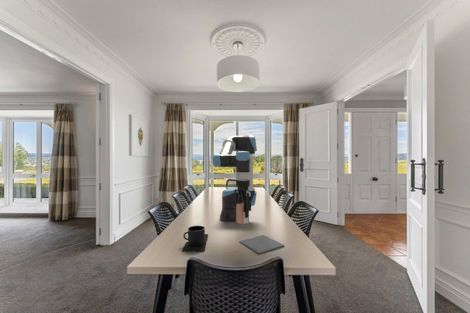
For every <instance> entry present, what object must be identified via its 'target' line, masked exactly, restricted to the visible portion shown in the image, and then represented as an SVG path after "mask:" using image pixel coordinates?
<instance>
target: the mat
mask: <svg viewBox="0 0 470 313" xmlns="http://www.w3.org/2000/svg"><path fill="white" fill-rule="evenodd" d="M239 243H240V244H242V246H244V247H246V248H247V249H250V250H251V251H252V252H255V254H258V255H261V254H264V253H265V254H266V253H267V252H271V251H274V250H277V249H282V248H284V247H285V244H283V243H281V242H279V241H277V240H276V239H274V238H270V237H268V236H266V235H264V234H261V235H258V236H253V237H250V238H245V239H242V240H239Z"/></svg>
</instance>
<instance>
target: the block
mask: <svg viewBox="0 0 470 313" xmlns="http://www.w3.org/2000/svg"><path fill="white" fill-rule="evenodd" d="M243 211H244V205H243V203H239V204H236V221H235V222H236V223H238V224H240V225H244V224H243ZM249 223H250V211H249V212H248V223H247V224H249Z"/></svg>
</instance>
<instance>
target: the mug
mask: <svg viewBox="0 0 470 313" xmlns="http://www.w3.org/2000/svg"><path fill="white" fill-rule="evenodd" d="M205 228H206V227H205V226H202V225H192V226H189V227H188V228H187V231H185V232H184V233H183V239H184V240H185V241H187V242H188V245H189V246H191V247H200V246H202V245H204V244H205V234H206V229H205ZM186 235H187V236H186Z"/></svg>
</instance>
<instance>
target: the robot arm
mask: <svg viewBox="0 0 470 313" xmlns="http://www.w3.org/2000/svg"><path fill="white" fill-rule="evenodd" d="M257 149H258V148H257V140H256V136H254V135H232V136H230V137H228V138H226V139H225V140H224V141H223V142H222V147H221V150H220V151H219V153H217V154H213V156H212V165H213V167H214V168H236V169H235V177H236V178H235V179H236V180H235V188H227V189H224V190H222V193H221V211H220V214H219V220H220V221H222V222H227V223H228V222H229V223H231V222H236V204H239V203H243V205H244V211H243V224H242V225H244V224H245V225H246V224H249V223H248V212H249V213H250V212H251V211H252V207H254V206H255V205H256V201H257V200H256V199H257V191H256V190H255V189H256V188H255V187H254V184H253V183H254V155H255V154H256V152H257V151H258V150H257ZM233 152H236V153H235V154H233Z"/></svg>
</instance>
